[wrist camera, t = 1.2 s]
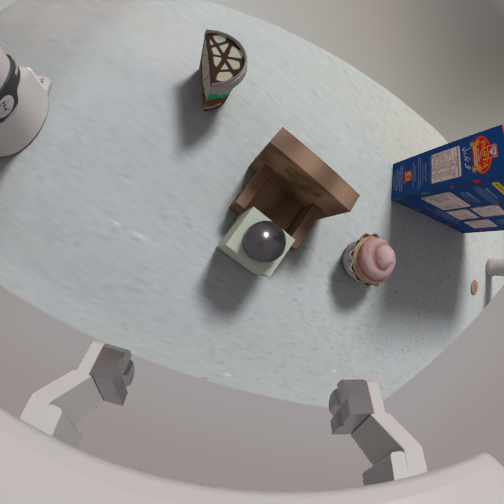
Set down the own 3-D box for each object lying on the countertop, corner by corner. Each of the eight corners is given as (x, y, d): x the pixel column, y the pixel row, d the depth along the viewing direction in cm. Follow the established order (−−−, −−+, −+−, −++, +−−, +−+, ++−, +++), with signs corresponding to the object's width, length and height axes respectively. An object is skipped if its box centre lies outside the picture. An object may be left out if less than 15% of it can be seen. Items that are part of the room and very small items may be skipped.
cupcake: (356, 296, 50) (392, 303, 40) (325, 261, 48) (359, 262, 39) (383, 258, 52) (419, 258, 42) (354, 223, 50) (390, 217, 41)
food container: (240, 117, 45) (256, 87, 35) (203, 118, 43) (211, 87, 34) (232, 62, 45) (244, 28, 35) (198, 62, 43) (205, 27, 33)
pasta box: (463, 203, 60) (549, 190, 33) (462, 233, 60) (552, 226, 33) (393, 164, 53) (502, 124, 26) (391, 199, 53) (509, 172, 26)
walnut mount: (217, 206, 44) (231, 190, 33) (259, 153, 46) (282, 127, 35) (287, 260, 47) (320, 261, 36) (322, 206, 48) (359, 195, 38)
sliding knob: (216, 246, 43) (228, 244, 34) (239, 215, 44) (257, 203, 35) (253, 273, 45) (275, 278, 35) (275, 242, 46) (301, 238, 36)
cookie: (475, 277, 62) (477, 277, 61) (477, 290, 62) (479, 290, 61) (469, 283, 61) (472, 284, 60) (471, 297, 61) (473, 297, 60)
